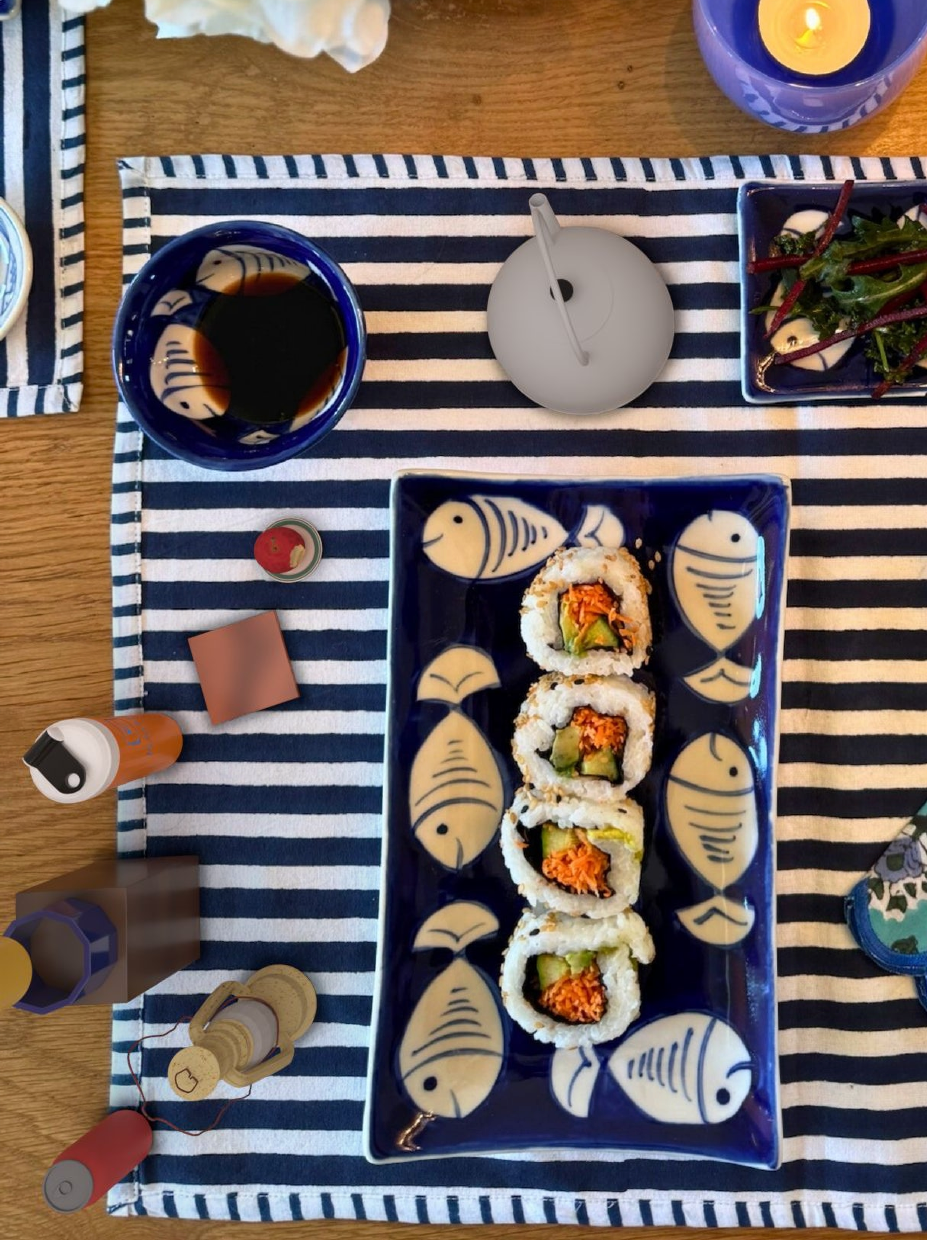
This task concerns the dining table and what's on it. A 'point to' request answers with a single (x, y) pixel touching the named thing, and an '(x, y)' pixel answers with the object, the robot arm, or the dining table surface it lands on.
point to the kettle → (579, 317)
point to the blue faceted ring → (97, 952)
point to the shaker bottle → (101, 754)
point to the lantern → (241, 1034)
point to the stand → (120, 924)
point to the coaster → (243, 667)
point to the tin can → (13, 972)
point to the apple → (288, 549)
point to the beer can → (97, 1162)
